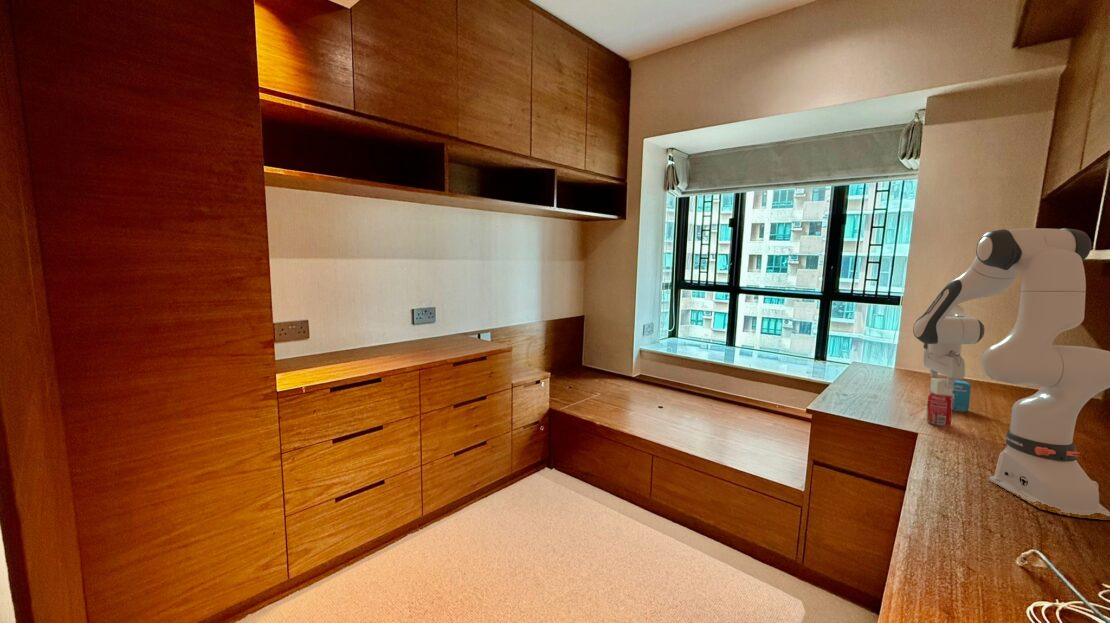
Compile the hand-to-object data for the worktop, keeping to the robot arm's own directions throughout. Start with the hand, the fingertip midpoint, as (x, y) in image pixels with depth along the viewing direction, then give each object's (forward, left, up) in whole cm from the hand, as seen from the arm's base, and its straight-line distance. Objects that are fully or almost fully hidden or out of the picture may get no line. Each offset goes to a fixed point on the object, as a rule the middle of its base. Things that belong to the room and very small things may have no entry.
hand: (941, 384), depth 158 cm
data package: (+22, -13, -15) cm, 30 cm away
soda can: (0, 0, -15) cm, 15 cm away
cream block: (0, 0, -3) cm, 3 cm away
